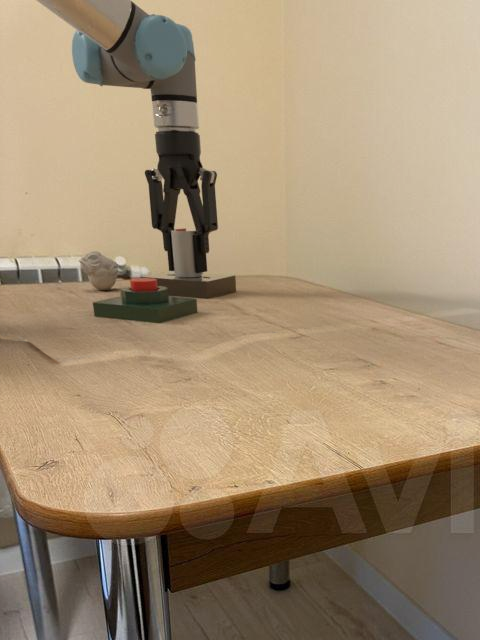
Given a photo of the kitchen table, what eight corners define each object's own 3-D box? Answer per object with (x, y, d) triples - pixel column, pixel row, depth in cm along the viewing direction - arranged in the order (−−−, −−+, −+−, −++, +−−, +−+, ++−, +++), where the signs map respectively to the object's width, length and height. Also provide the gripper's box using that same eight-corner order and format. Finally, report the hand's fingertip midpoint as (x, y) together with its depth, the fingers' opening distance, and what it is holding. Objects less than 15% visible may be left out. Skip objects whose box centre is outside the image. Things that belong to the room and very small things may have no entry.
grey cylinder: (185, 273, 134) (181, 227, 130) (207, 275, 132) (204, 228, 129) (169, 276, 129) (164, 228, 126) (192, 278, 128) (188, 229, 124)
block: (94, 316, 108) (90, 290, 107) (136, 306, 117) (133, 282, 115) (159, 323, 104) (156, 295, 103) (197, 312, 113) (195, 287, 111)
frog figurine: (78, 289, 133) (73, 250, 130) (115, 286, 137) (111, 249, 134) (88, 293, 129) (83, 253, 126) (126, 290, 133) (122, 252, 130)
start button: (125, 292, 108) (124, 280, 108) (142, 288, 112) (141, 277, 111) (147, 294, 107) (146, 282, 106) (163, 290, 110) (162, 279, 110)
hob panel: (142, 293, 130) (140, 275, 129) (174, 286, 138) (172, 269, 137) (207, 299, 125) (205, 280, 124) (236, 291, 134) (235, 274, 133)
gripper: (119, 129, 121) (134, 270, 130) (210, 129, 115) (219, 276, 124) (147, 132, 127) (159, 266, 136) (234, 131, 121) (241, 271, 130)
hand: (188, 270), depth 130 cm, fingers closed on grey cylinder, 5 cm apart
